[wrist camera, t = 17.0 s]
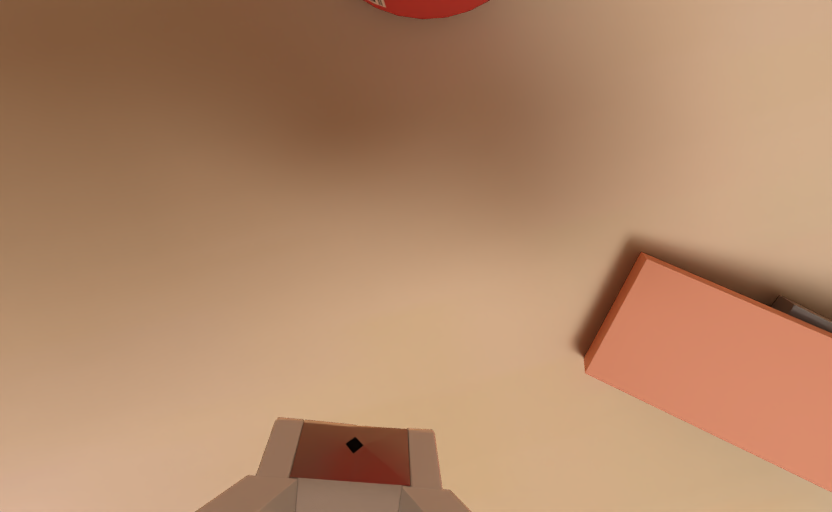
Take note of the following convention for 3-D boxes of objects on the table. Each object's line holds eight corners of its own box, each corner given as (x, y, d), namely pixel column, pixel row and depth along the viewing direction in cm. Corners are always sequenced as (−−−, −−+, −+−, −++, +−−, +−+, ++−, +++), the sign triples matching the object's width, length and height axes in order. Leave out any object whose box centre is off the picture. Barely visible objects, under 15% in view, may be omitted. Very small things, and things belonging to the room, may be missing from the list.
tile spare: (585, 373, 20) (854, 502, 18) (647, 259, 19) (944, 386, 17) (583, 358, 21) (831, 476, 20) (640, 251, 20) (912, 367, 18)
